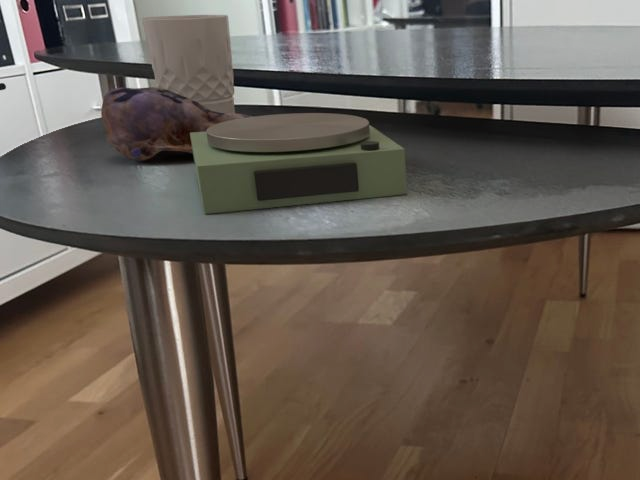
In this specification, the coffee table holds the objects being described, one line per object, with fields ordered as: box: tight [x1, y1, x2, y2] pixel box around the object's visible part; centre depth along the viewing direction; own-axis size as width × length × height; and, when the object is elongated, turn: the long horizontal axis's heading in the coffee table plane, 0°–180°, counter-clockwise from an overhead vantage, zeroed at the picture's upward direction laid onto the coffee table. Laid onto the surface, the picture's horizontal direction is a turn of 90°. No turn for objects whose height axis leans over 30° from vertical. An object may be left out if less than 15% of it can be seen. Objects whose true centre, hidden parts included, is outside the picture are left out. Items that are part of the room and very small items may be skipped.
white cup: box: [141, 14, 236, 113], centre depth 83 cm, size 8×8×10 cm
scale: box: [190, 124, 408, 215], centre depth 59 cm, size 13×13×3 cm
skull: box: [100, 86, 253, 162], centre depth 69 cm, size 12×8×6 cm, turn 88°
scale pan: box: [206, 112, 370, 152], centre depth 59 cm, size 11×11×1 cm
